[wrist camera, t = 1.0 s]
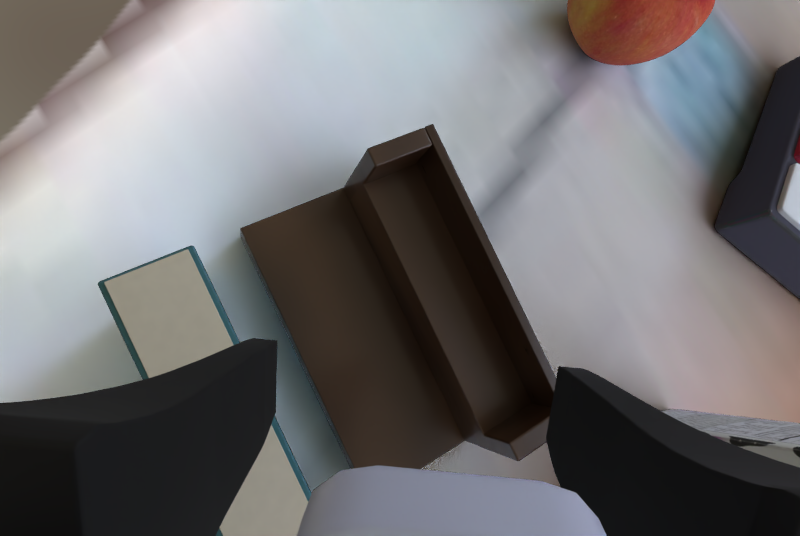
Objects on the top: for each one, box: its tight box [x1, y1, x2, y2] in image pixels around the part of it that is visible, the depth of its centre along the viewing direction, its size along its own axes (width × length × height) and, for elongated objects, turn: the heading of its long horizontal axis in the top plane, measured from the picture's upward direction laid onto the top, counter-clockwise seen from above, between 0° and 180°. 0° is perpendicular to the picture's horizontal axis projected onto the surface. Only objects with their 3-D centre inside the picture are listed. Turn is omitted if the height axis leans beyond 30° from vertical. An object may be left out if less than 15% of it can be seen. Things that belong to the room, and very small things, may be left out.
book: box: [98, 246, 311, 536], centre depth 19 cm, size 3×11×7 cm, turn 27°
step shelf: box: [240, 124, 556, 469], centre depth 21 cm, size 8×13×6 cm, turn 27°
